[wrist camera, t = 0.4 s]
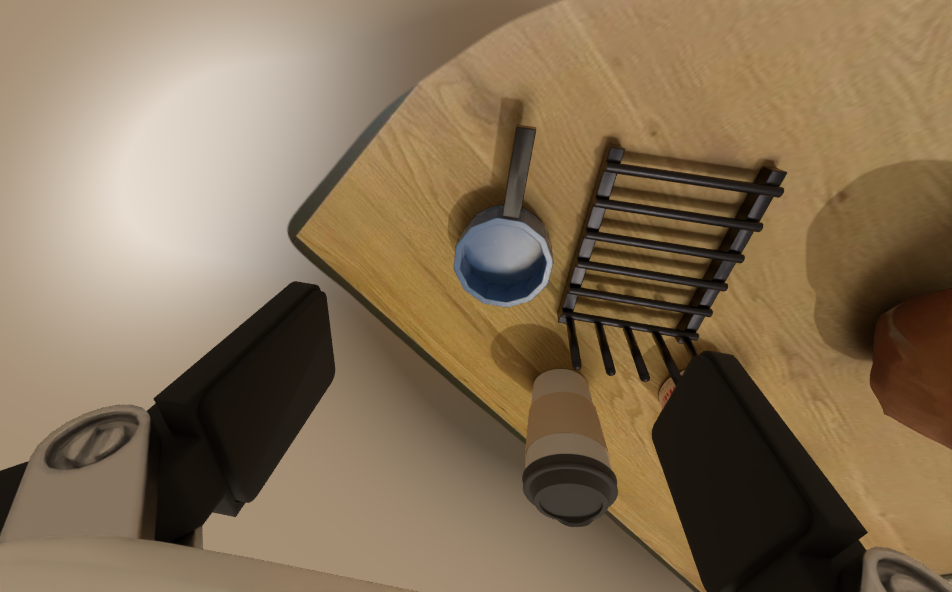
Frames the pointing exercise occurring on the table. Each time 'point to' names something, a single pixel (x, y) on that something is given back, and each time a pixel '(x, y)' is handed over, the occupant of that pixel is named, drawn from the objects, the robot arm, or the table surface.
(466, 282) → the saucepan
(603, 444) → the coffee cup
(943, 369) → the butternut squash
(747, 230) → the dish rack
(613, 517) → the table surface
